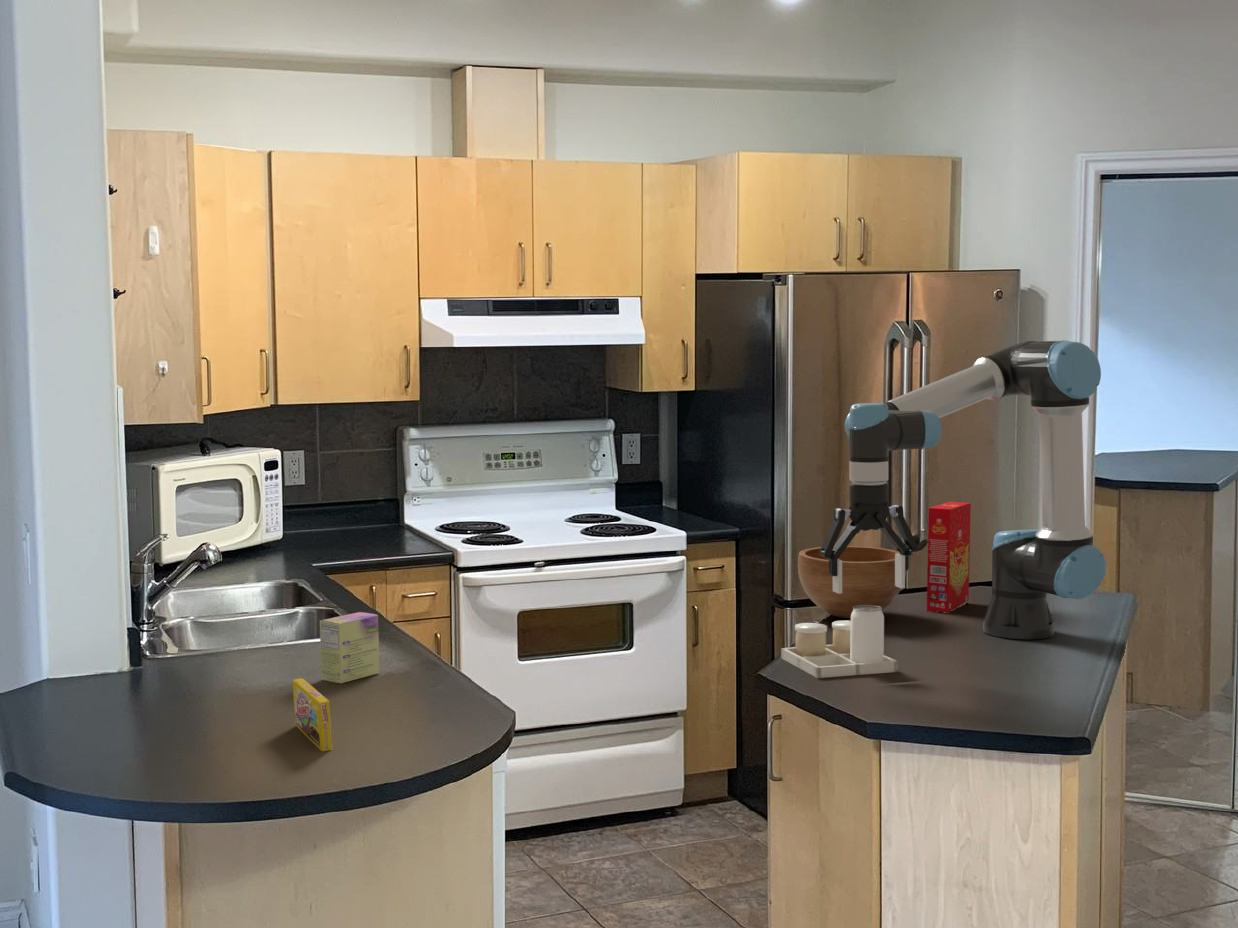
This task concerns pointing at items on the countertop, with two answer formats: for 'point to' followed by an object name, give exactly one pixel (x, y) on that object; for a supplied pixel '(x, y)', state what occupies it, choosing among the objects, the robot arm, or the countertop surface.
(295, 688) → the candy box
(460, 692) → the countertop surface
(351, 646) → the box
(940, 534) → the food packaging
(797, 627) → the paper cup
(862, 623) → the can
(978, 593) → the countertop surface
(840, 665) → the carrier
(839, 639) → the paper cup
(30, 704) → the countertop surface
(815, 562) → the bowl
